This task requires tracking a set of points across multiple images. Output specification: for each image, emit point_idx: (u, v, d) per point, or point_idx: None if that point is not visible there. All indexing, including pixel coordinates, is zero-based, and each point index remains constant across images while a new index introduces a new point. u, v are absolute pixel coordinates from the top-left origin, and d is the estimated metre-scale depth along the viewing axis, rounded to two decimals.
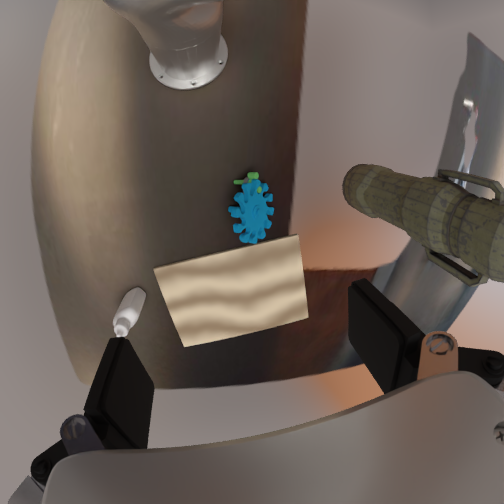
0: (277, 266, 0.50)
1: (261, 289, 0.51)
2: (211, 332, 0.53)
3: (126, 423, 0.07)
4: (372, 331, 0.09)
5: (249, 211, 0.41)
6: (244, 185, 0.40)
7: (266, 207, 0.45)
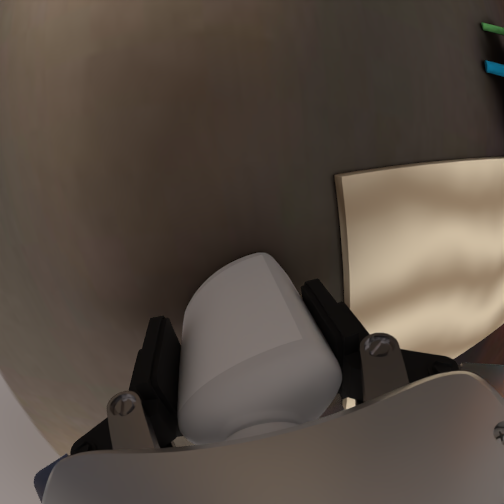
0: None
1: None
2: None
3: (172, 398, 0.08)
4: None
5: None
6: None
7: None
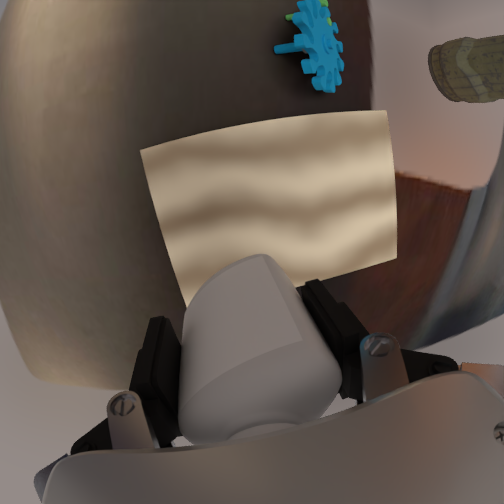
0: (359, 157, 0.27)
1: (333, 197, 0.28)
2: None
3: (172, 398, 0.08)
4: None
5: (318, 32, 0.18)
6: None
7: (336, 52, 0.21)
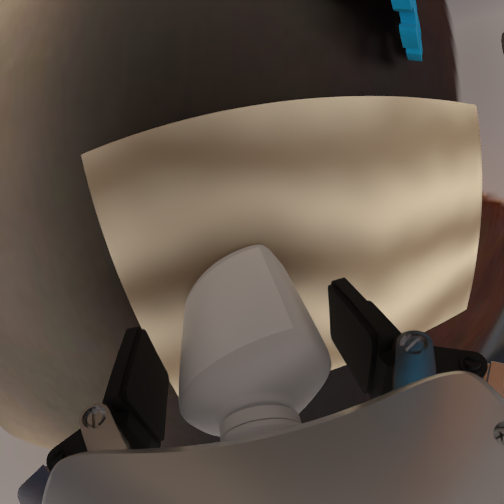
0: (448, 172, 0.15)
1: (412, 235, 0.16)
2: None
3: (145, 411, 0.08)
4: (349, 329, 0.09)
5: None
6: None
7: (415, 6, 0.09)
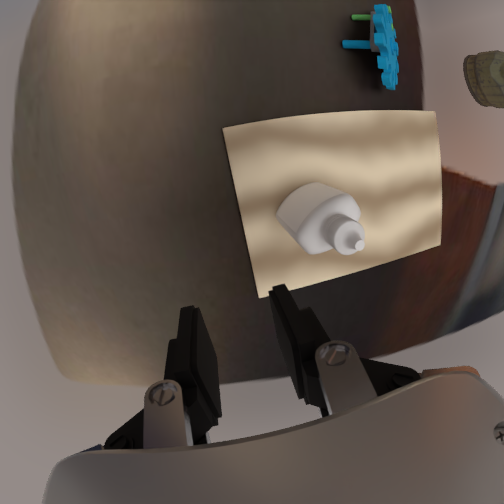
0: (415, 151, 0.27)
1: (395, 186, 0.28)
2: (312, 265, 0.30)
3: (208, 386, 0.09)
4: (282, 335, 0.10)
5: (388, 35, 0.18)
6: (382, 4, 0.16)
7: (395, 55, 0.21)
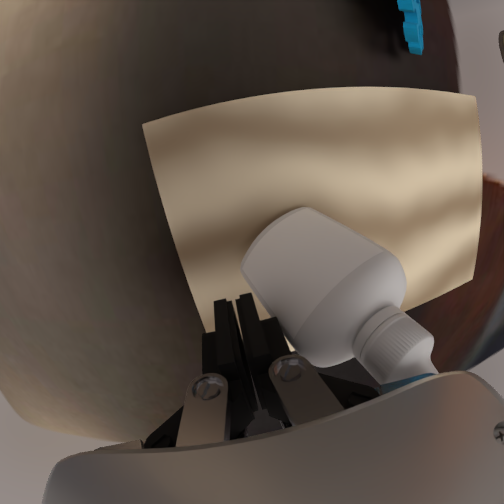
0: (452, 153, 0.16)
1: (425, 205, 0.18)
2: None
3: (248, 379, 0.09)
4: None
5: None
6: None
7: (419, 9, 0.11)
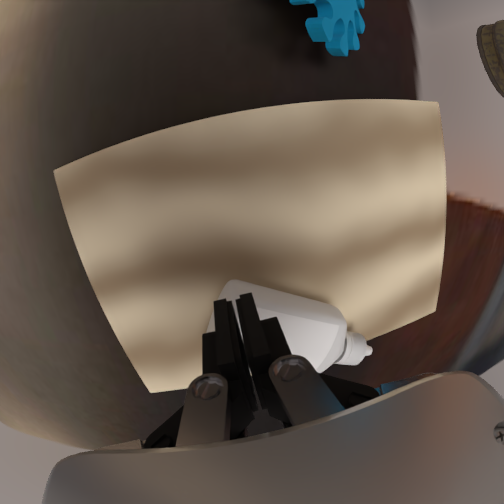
0: (402, 172, 0.16)
1: (362, 236, 0.17)
2: None
3: (248, 379, 0.09)
4: None
5: None
6: None
7: (355, 2, 0.10)
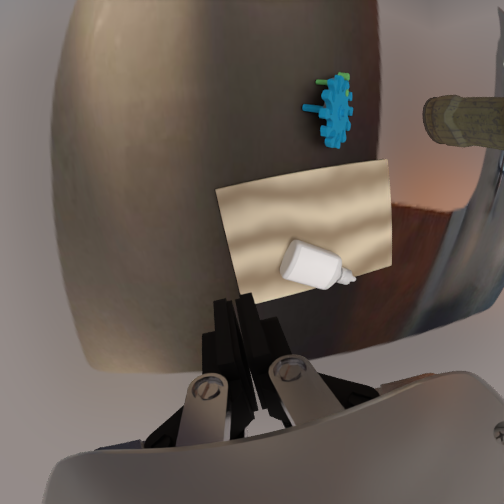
0: (366, 195, 0.39)
1: (347, 223, 0.40)
2: (282, 283, 0.42)
3: (248, 379, 0.09)
4: None
5: (337, 105, 0.29)
6: (337, 76, 0.28)
7: (347, 117, 0.33)
